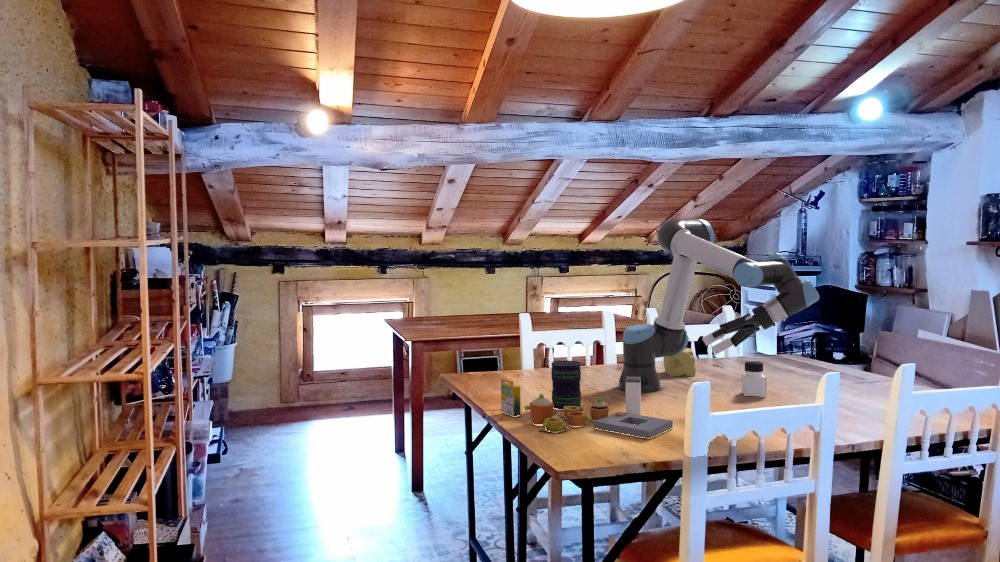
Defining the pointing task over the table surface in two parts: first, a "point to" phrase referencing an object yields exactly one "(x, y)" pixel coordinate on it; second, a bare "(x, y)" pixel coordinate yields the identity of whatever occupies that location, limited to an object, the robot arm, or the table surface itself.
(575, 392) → the storage jar
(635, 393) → the plug
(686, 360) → the cheese
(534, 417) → the toy tea set
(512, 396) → the crayon box
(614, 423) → the socket
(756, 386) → the medicine bottle
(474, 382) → the table surface
